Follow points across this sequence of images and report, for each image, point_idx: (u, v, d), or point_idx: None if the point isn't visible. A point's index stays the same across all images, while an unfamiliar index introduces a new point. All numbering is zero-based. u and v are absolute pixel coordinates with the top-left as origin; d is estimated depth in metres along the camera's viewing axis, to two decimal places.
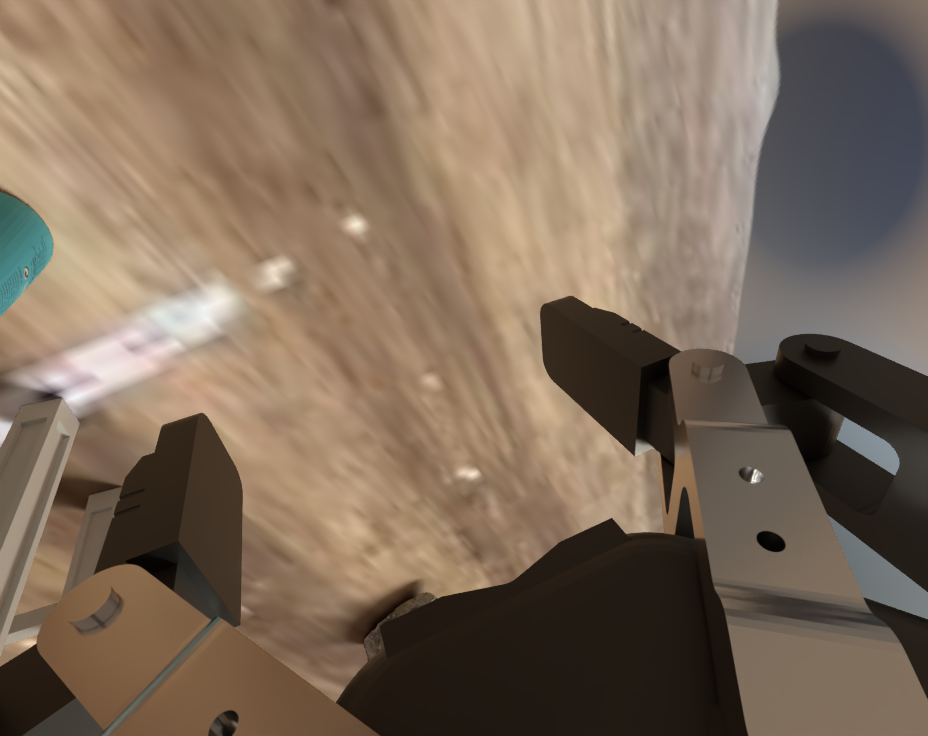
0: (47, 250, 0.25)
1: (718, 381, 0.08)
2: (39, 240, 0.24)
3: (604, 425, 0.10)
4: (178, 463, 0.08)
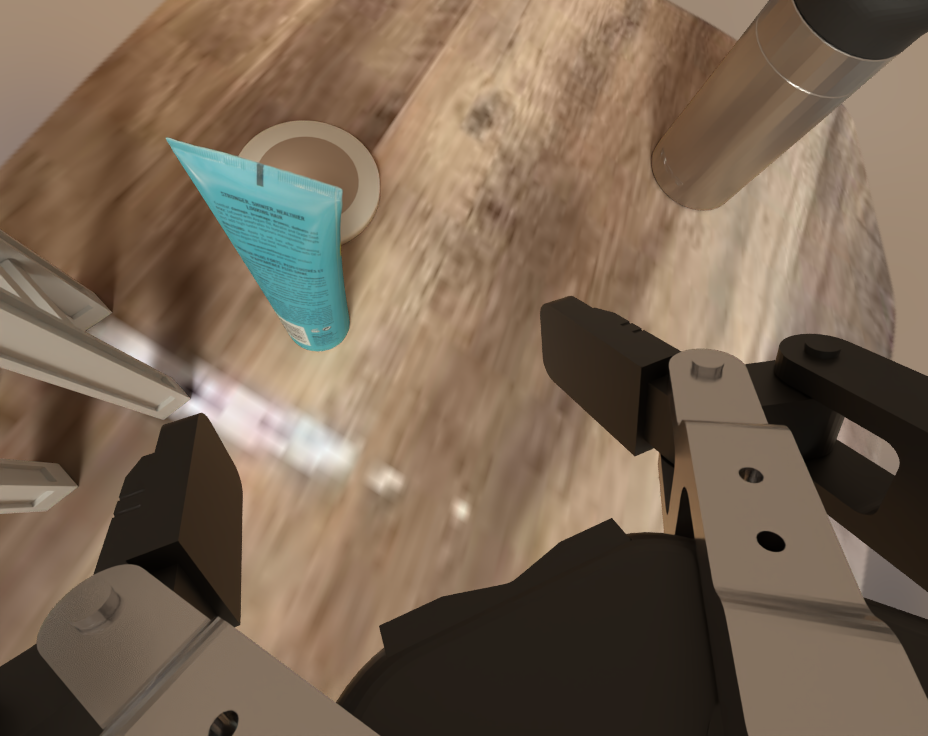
0: (329, 344, 0.36)
1: (718, 381, 0.08)
2: (337, 337, 0.36)
3: (605, 425, 0.10)
4: (178, 463, 0.08)
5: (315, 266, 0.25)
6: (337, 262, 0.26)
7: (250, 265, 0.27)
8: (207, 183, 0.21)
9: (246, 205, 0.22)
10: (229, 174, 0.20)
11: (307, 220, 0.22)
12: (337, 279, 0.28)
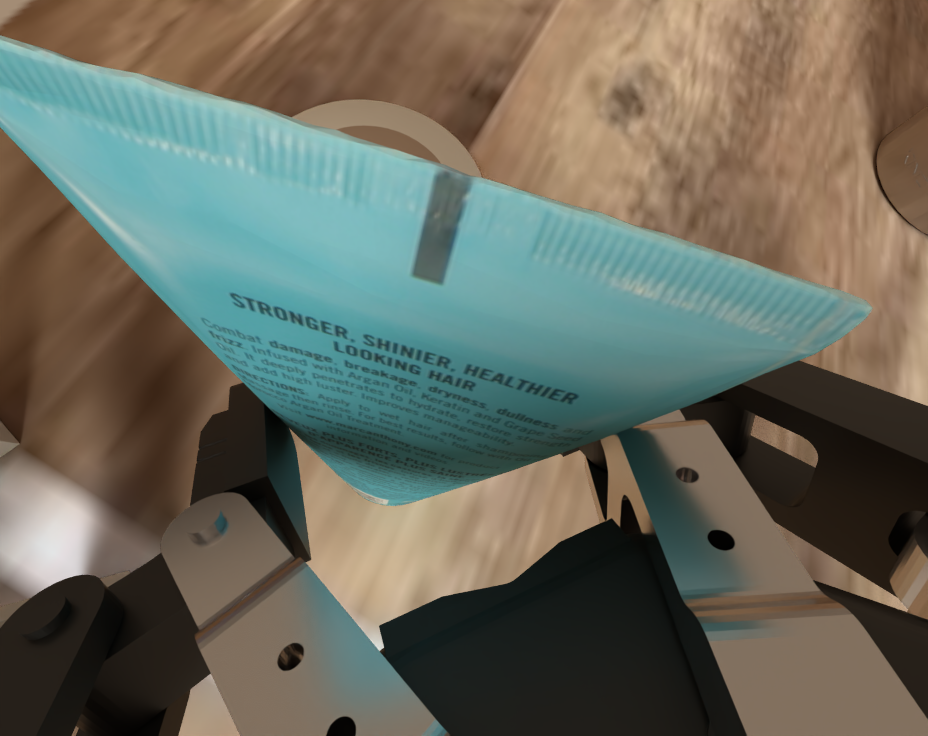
0: None
1: None
2: None
3: None
4: (253, 416, 0.09)
5: (502, 470, 0.09)
6: None
7: (301, 437, 0.10)
8: (167, 258, 0.05)
9: (332, 343, 0.05)
10: (277, 225, 0.04)
11: (585, 404, 0.05)
12: None
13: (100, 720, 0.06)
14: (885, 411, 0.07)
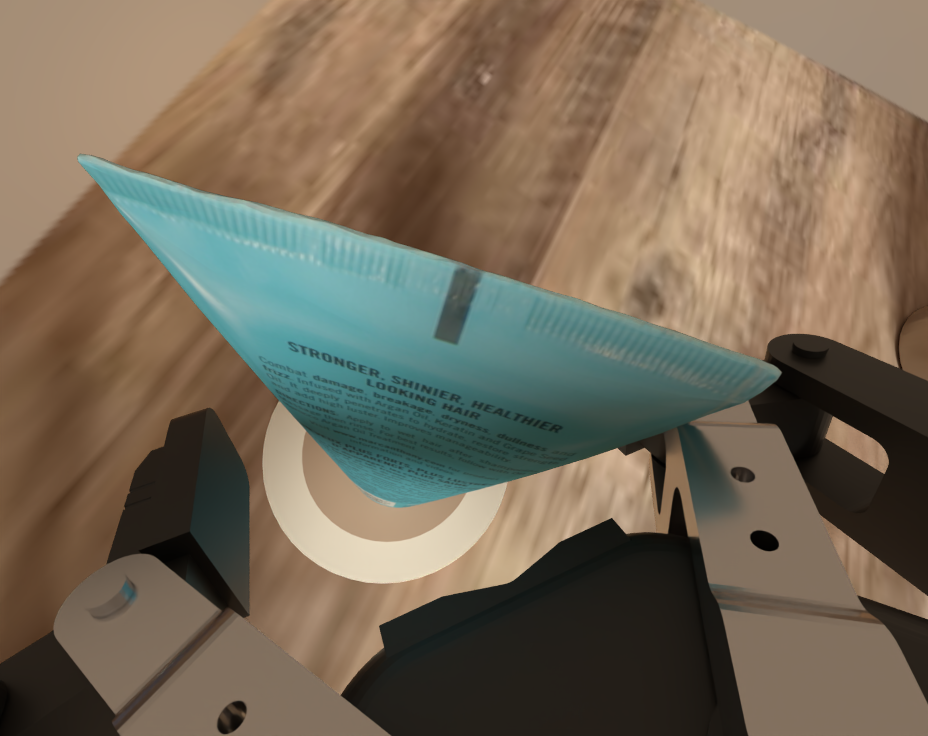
0: None
1: None
2: None
3: None
4: (188, 456, 0.08)
5: (500, 481, 0.10)
6: None
7: (324, 446, 0.11)
8: (241, 316, 0.06)
9: (366, 380, 0.07)
10: (333, 299, 0.05)
11: (568, 433, 0.07)
12: None
13: None
14: None
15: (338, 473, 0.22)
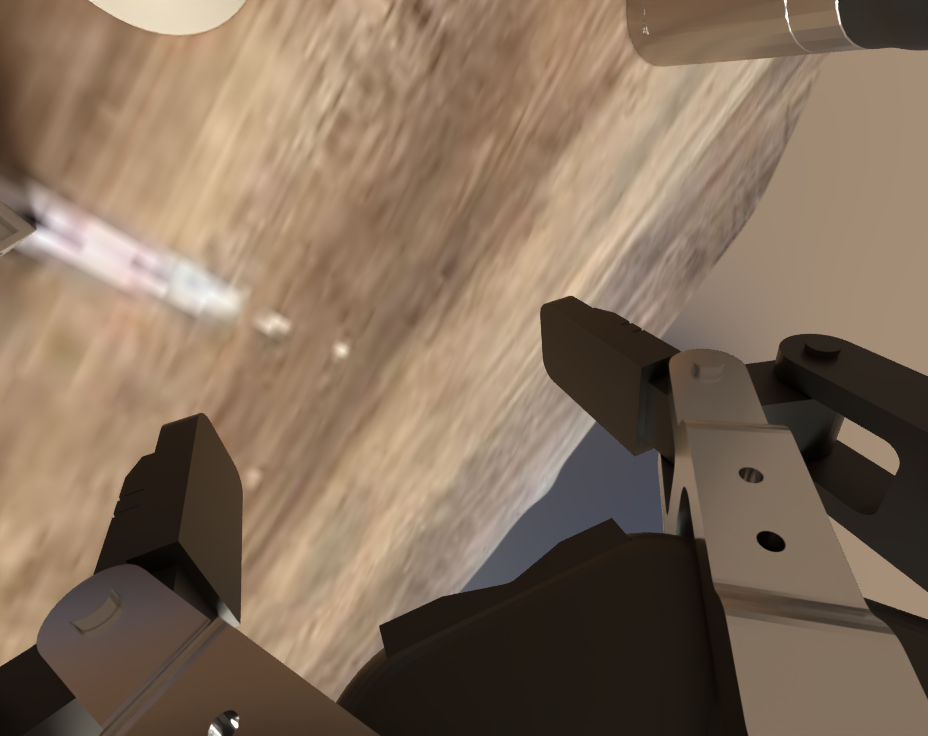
0: None
1: (718, 381, 0.08)
2: None
3: (605, 425, 0.10)
4: (178, 463, 0.08)
5: None
6: None
7: None
8: None
9: None
10: None
11: None
12: None
13: None
14: None
15: None
